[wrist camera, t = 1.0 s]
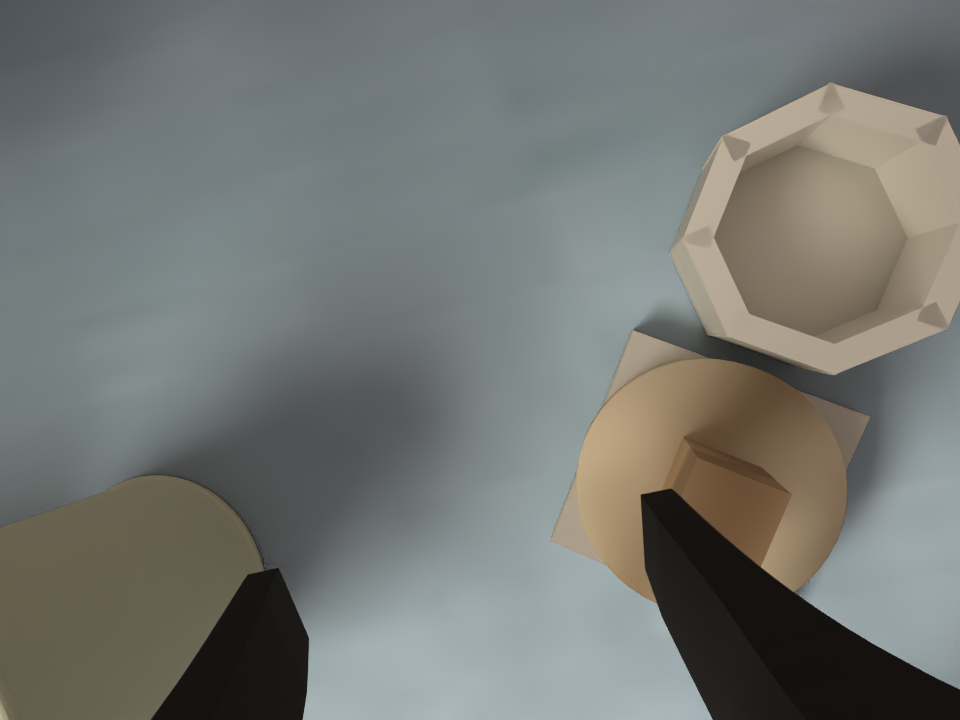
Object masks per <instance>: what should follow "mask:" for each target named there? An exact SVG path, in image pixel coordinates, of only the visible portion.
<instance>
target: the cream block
mask: <svg viewBox="0 0 960 720" xmlns="http://www.w3.org/2000/svg"><path fill="white" fill-rule="evenodd" d="M699 358H703V359H711V358H708V357H705V356H702V355H700V354H697V353H694V352H691V351H689V350H686V349H683V348H681V347H678V346H675V345H672V344H670V343H667V342H664V341H661V340H659V339H656V338H653V337H650V336H648V335H645V334H642V333H639V332H637V331H634V330H632V331H631V334H630V337H629V339H628V342H627V344H626V347H625V349H624V352H623V354H622V357H621V360H620V362H619V365H618V367H617V370H616V372H615V375H614V377H613V380H612V383H611V385H610V388H609V390H608V393H607V395H606V398H605V400H604V403H603V405H604V404H605V403H606V402H607V401H608V399H609V398H610V397H611V396H612V395H613V394H614V393H615V392H617V391H618V390H619V389H620V388H621V387H622V386H623V385H625V384H626V383H628V382H629V381H631V380H632V379H634V378H635V377H636V376H638V375H640V374H642V373H644V372H646V371H648V370H650V369H653V368H655V367H658V366H661V365H664V364H667V363H671V362H676V361H680V360H688V359H699ZM795 390H796V389H795ZM796 391H798V390H796ZM798 392H799V393H800V394H802V395H803V396H804V397H805V398H806V399H807V400H808V401H809V402H810V403H811V404H812V405H813V406H814V407H815V408H816V409H817V411H818V412H819V413H820V415H821V416H822V417H823V419H824V420H825V421H826V423H827V424H828V426H829V428H830V430H831V432H832V433H833V435H834V437H835V439H836V441H837V444H838V446H839V449H840V452H841V454H842V458H843V462H844V466H845V471H847V468H848V466H849V464H850V461H851V459H852V457H853V455H854V452H855V450H856V448H857V446H858V443H859V441H860V439H861V437H862V434H863V432H864V430H865V427H866V425H867V423H868V421H869V418H870V416H867V415H864V414H861V413H859V412H856V411H853V410H850V409H848V408H845V407H842V406H840V405H837V404H834V403H831V402H829V401H826V400H823V399H820V398H818V397H815V396H812V395H809V394H807V393H804V392H801V391H798ZM576 487H577V472H576V474H575V477H574V480H573V482H572V485H571V487H570V490H569V492H568V495H567V497H566V500H565V503H564V505H563V508H562V510H561V513H560V515H559V518H558V520H557V523H556V526H555V528H554V531H553V533H552V537H551V542H553V543H555V544H558V545H560V546H562V547H565V548H567V549H569V550H572V551H574V552H576V553H579V554H581V555H583V556H586V557H588V558H591V559H593V560H595V561H598V562H600V563H602V564H605V563H604V562H603V560H602V559H601V557H600V556H599V554H598V553H597V552H596V550H595V548H594V547H593V545H592V543H591V541H590V539H589V537H588V535H587V533H586V530H585V527H584V525H583V522H582V519H581V515H580V510H579V506H578V498H577V488H576ZM605 565H606V564H605Z"/></svg>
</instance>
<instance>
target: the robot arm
mask: <svg viewBox="0 0 960 720" xmlns="http://www.w3.org/2000/svg"><path fill="white" fill-rule="evenodd" d="M641 512H642V529H643V545H644V562H645V571H646V574H647V576H648V579H649V582H650V585H651V588H652V591H653V593H654V596H655V599H656V602H657V604H658V607H659V610H660V612H661V615H662V618H663V620H664V622H665V624H666V626H667V628H668V630H669V632H670V634H671V636H672V638H673V640H674V642H675V644H676V646H677V648H678V650H679V653H680V655H681V657H682V659H683V661H684V663H685V665H686V667H687V669H688V671H689V673H690V675H691V677H692V679H693V681H694V683H695V685H696V687H697V689H698V691H699V693H700V695H701V697H702V699H703V701H704V703H705V705H706V707H707V709H708V711H709V713H710V715H711V717H712V719H713V720H960V690H959V689H957V688H955V687H953V686H951V685H949V684H947V683H945V682H943V681H941V680H939V679H937V678H935V677H933V676H931V675H929V674H927V673H925V672H923V671H921V670H920V669H918V668H916V667H914V666H912V665H910V664H909V663H907V662H905V661H903V660H901V659H899V658H898V657H896V656H894V655H892V654H890V653H888V652H887V651H885V650H883V649H881V648H879V647H877V646H876V645H874V644H872V643H871V642H869V641H867V640H866V639H864V638H862V637H861V636H859V635H857V634H856V633H854V632H852V631H851V630H849V629H848V628H846V627H844V626H843V625H841V624H840V623H838V622H837V621H835V620H834V619H832V618H831V617H829V616H827V615H826V614H824V613H823V612H821V611H820V610H818V609H817V608H815V607H814V606H813V605H811V604H810V603H808V602H807V601H805V600H804V599H803V598H801V597H800V596H798V595H797V594H796V593H794V592H793V591H792V590H790V589H789V588H788V587H786V586H785V585H784V584H782V583H781V582H779V581H778V580H777V579H775V578H774V577H773V576H772V575H770V574H769V573H768V572H766V571H765V570H764V569H763V568H761V567H760V566H759V565H758V564H756V563H755V562H754V561H753V560H752V559H750V558H749V557H748V556H747V555H746V554H744V553H743V552H742V551H741V550H739V549H738V548H737V547H736V546H735V545H733V544H732V543H731V542H730V541H729V540H728V539H726V538H725V537H724V536H723V535H722V534H721V533H720V532H719V531H717V530H716V529H715V528H714V527H713V526H712V525H711V524H710V523H709V522H707V521H706V520H705V519H704V518H703V517H702V516H701V515H700V514H699V513H698V512H697V511H696V510H694V509H693V508H692V507H691V506H690V505H689V504H688V503H687V502H686V501H685V500H684V499H683V498H682V497H681V496H680V495H679V494H678V493H677V492H676V491H674V490H672V489H671V488H670V489H665V490H661V491H656V492H651V493H646V494H641ZM308 652H309V637H308V635H307V632H306V630H305V628H304V625H303V623H302V621H301V619H300V616H299V614H298V612H297V609H296V607H295V605H294V602H293V600H292V598H291V595H290V593H289V591H288V588H287V586H286V584H285V582H284V579H283V577H282V575H281V572H280V570H279V568H276V569H272V570H267V571H262V572H257V573H252V574H248V575H247V576H246V578H245V579H244V581H243V582H242V584H241V585H240V587H239V588H238V590H237V591H236V593H235V595H234V596H233V598H232V599H231V601H230V603H229V604H228V606H227V607H226V609H225V611H224V612H223V614H222V615H221V617H220V618H219V620H218V622H217V623H216V625H215V626H214V628H213V629H212V631H211V633H210V634H209V636H208V637H207V639H206V640H205V642H204V643H203V645H202V647H201V648H200V650H199V651H198V653H197V654H196V656H195V657H194V659H193V660H192V662H191V663H190V665H189V666H188V668H187V669H186V671H185V672H184V674H183V675H182V677H181V678H180V679H179V681H178V682H177V684H176V685H175V687H174V688H173V689H172V691H171V692H170V694H169V695H168V696H167V698H166V699H165V700H164V702H163V703H162V705H161V706H160V707H159V709H158V710H157V711H156V713H155V714H154V716H153V717H152V718H151V720H303V714H304V707H305V700H306V694H307V679H308Z"/></svg>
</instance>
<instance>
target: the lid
mask: <svg viewBox="0 0 960 720" xmlns="http://www.w3.org/2000/svg"><path fill="white" fill-rule="evenodd" d="M576 488H577V498H578V506H579V510H580V515H581V519H582V522H583V525H584V527H585V530H586V533H587V535H588V537H589V539H590V541H591V543H592V545H593V547H594V548H595V550H596V552H597V553H598V554H599V556H600V557H601V559H602V560H603V562H604V563H605V564H606V565H607V566H608V568H609V569H610V570H611V571H612V572H613V573H614V574H615V575H616V576H617V577H618V578H619V579H620V580H621V581H623V582H624V583H625V584H626V585H627V586H628V587H630V588H631V589H633V590H634V591H636V592H637V593H639V594H640V595H642V596H643V597H645V598H647V599H649V600H651V601H653V602H655V603H657V602H656V599H655V596H654V593H653V591H652V588H651V585H650V582H649V579H648V576H647V574H646V571H645V562H644V545H643V529H642V512H641V494H646V493H651V492H656V491H661V490H665V489H670V488H671V489H672V490H674V491H676V492H677V493H678V494H679V495H680V496H681V497H682V498H683V499H684V500H685V501H686V502H687V503H688V504H689V505H690V506H691V507H692V508H693V509H694V510H696V511H697V512H698V513H699V514H700V515H701V516H702V517H703V518H704V519H705V520H706V521H707V522H709V523H710V524H711V525H712V526H713V527H714V528H715V529H716V530H717V531H719V532H720V533H721V534H722V535H723V536H724V537H725V538H726V539H728V540H729V541H730V542H731V543H732V544H733V545H735V546H736V547H737V548H738V549H739V550H741V551H742V552H743V553H744V554H746V555H747V556H748V557H749V558H750V559H752V560H753V561H754V562H755V563H756V564H758V565H759V566H760V567H761V568H763V569H764V570H765V571H766V572H768V573H769V574H770V575H772V576H773V577H774V578H775V579H777V580H778V581H779V582H781V583H782V584H784V585H785V586H786V587H788V588H789V589H790V590H792V591H793V592H795V591H796V590H797V589H799V588H800V587H801V586H802V585H804V584H805V583H806V582H807V581H808V580H809V579H810V578H811V577H812V576H813V575H814V574H815V573H816V572H817V571H818V570H819V569H820V567H821V566H822V565H823V563H824V562H825V561H826V559H827V558H828V556H829V555H830V553H831V551H832V549H833V547H834V545H835V544H836V542H837V539H838V537H839V534H840V531H841V528H842V526H843V522H844V517H845V512H846V506H847V479H846V471H845V466H844V462H843V458H842V454H841V452H840V449H839V446H838V444H837V441H836V439H835V437H834V435H833V433H832V432H831V430H830V428H829V426H828V424H827V423H826V421H825V420H824V419H823V417H822V416H821V415H820V413H819V412H818V411H817V409H816V408H815V407H814V406H813V405H812V404H811V403H810V402H809V401H808V400H807V399H806V398H805V397H804V396H803V395H802V394H800V393H799V392H798V391H796V390H795V389H794V388H793V387H791V386H790V385H789V384H787V383H785V382H784V381H782V380H780V379H779V378H777V377H775V376H773V375H771V374H769V373H767V372H764V371H762V370H760V369H757V368H754V367H751V366H747V365H744V364H740V363H737V362H733V361H726V360H720V359H703V358H699V359H688V360H680V361H676V362H671V363H667V364H664V365H661V366H658V367H655V368H653V369H650V370H648V371H646V372H644V373H642V374H640V375H638V376H636V377H635V378H634V379H632V380H631V381H629V382H628V383H626V384H625V385H623V386H622V387H621V388H620V389H619V390H618V391H617V392H615V393H614V394H613V395H612V396H611V397H610V398H609V399H608V401H607V402H606V403H605V404H604V405H603V406H602V407H601V409H600V410H599V412H598V413H597V415H596V416H595V418H594V420H593V421H592V423H591V425H590V427H589V429H588V432H587V434H586V436H585V439H584V442H583V445H582V449H581V453H580V458H579V463H578V469H577V487H576Z"/></svg>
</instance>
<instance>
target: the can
mask: <svg viewBox="0 0 960 720" xmlns="http://www.w3.org/2000/svg"><path fill="white" fill-rule="evenodd" d="M262 571H264V567H263V564H262V560H261V557H260V553H259V551H258V549H257V546H256V544H255V542H254V540H253V537H252V536H251V534H250V532H249V530H248V529H247V527H246V526H245V524H244V523H243V522H242V520H241V519H240V518H239V516H238V515H237V514H236V512H235V511H234V510H233V509H232V508H231V507H230V506H229V505H228V504H227V503H226V502H224V501H223V500H222V499H221V498H220V497H218V496H217V495H215V494H214V493H213V492H211V491H210V490H208V489H206V488H204V487H202V486H200V485H198V484H196V483H194V482H191V481H189V480H185V479H181V478H177V477H172V476H163V475H150V476H142V477H137V478H133V479H130V480H127V481H124V482H122V483H119V484H117V485H115V486H113V487H112V488H110V489H108V490H107V491H105V492H103V493H100V494H97V495H94V496H92V497H89V498H86V499H83V500H80V501H77V502H74V503H72V504H69V505H66V506H63V507H60V508H57V509H54V510H51V511H48V512H45V513H42V514H39V515H36V516H33V517H30V518H27V519H24V520H21V521H18V522H15V523H12V524H9V525H6V526H3V527H0V720H151V718H152V717H153V716H154V714H155V713H156V711H157V710H158V709H159V707H160V706H161V705H162V703H163V702H164V700H165V699H166V698H167V696H168V695H169V694H170V692H171V691H172V689H173V688H174V687H175V685H176V684H177V682H178V681H179V679H180V678H181V677H182V675H183V674H184V672H185V671H186V669H187V668H188V666H189V665H190V663H191V662H192V660H193V659H194V657H195V656H196V654H197V653H198V651H199V650H200V648H201V647H202V645H203V643H204V642H205V640H206V639H207V637H208V636H209V634H210V633H211V631H212V629H213V628H214V626H215V625H216V623H217V622H218V620H219V618H220V617H221V615H222V614H223V612H224V611H225V609H226V607H227V606H228V604H229V603H230V601H231V599H232V598H233V596H234V595H235V593H236V591H237V590H238V588H239V587H240V585H241V584H242V582H243V581H244V579H245V578H246V576H247V575H248V574H252V573H257V572H262Z"/></svg>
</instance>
